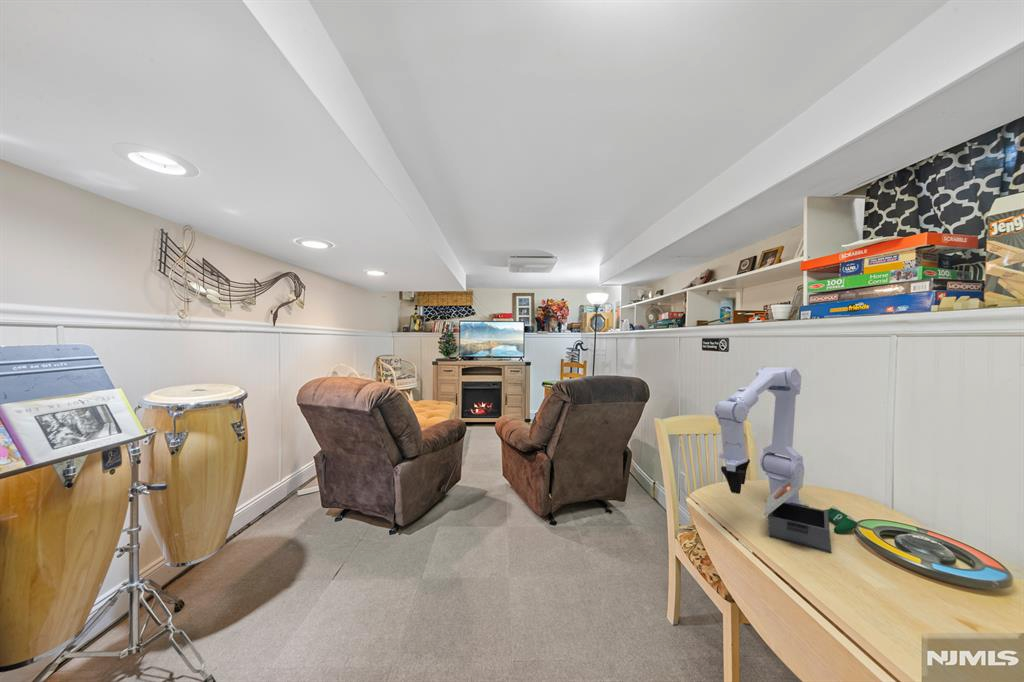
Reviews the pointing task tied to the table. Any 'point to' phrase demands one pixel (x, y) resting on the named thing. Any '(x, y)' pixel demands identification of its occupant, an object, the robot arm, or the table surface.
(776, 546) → the table surface
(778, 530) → the storage bin
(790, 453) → the robot arm
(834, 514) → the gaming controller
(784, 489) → the lid
